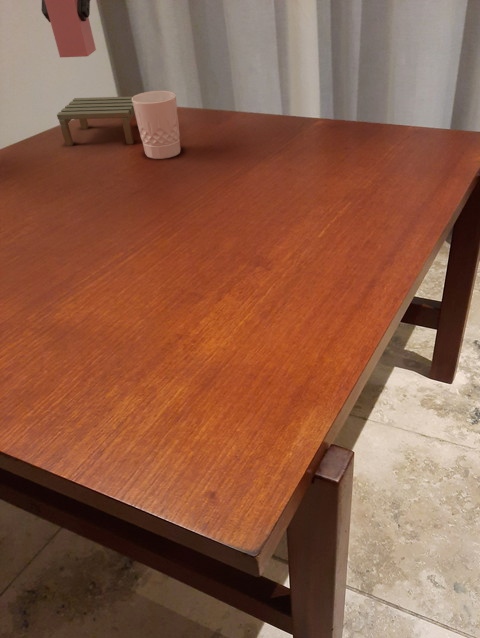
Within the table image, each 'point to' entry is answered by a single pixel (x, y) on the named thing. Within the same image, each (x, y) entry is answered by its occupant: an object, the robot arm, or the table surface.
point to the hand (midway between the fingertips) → (65, 18)
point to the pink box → (70, 29)
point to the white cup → (158, 123)
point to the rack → (97, 114)
